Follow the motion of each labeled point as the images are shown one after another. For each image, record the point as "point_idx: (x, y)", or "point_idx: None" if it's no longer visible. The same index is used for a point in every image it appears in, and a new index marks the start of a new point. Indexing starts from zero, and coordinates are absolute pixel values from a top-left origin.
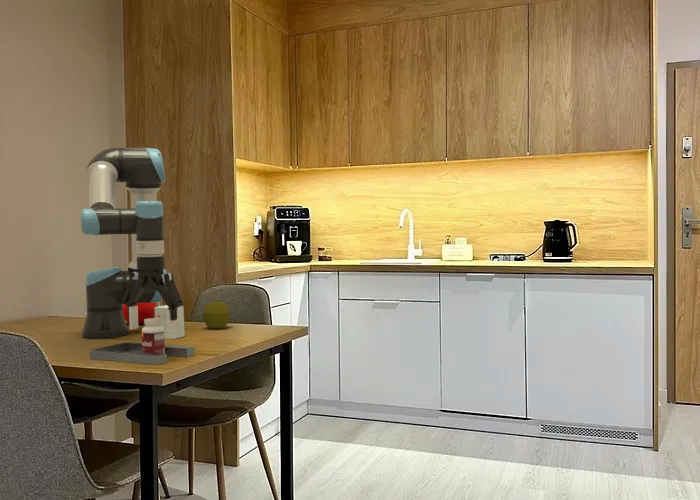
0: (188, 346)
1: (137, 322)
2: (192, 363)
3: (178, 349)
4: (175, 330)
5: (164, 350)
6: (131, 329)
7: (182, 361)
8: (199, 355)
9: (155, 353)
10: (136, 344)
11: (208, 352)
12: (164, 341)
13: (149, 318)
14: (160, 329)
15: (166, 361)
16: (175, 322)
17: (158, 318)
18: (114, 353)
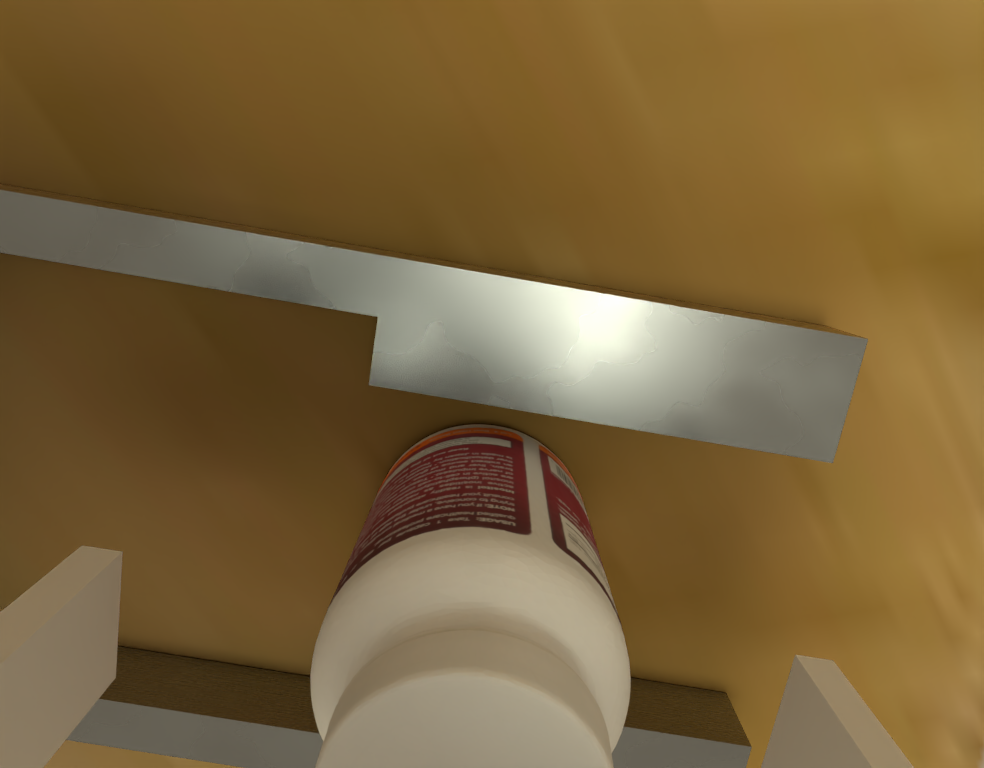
0: (794, 338)
1: (68, 613)
2: (968, 683)
3: (712, 437)
4: (837, 672)
5: (585, 510)
6: (110, 678)
7: (840, 623)
8: (888, 334)
9: (630, 749)
10: (54, 259)
11: (923, 154)
12: (591, 537)
13: (341, 741)
14: (620, 730)
15: (727, 704)
16: (902, 752)
17: (528, 728)
18: (192, 749)
